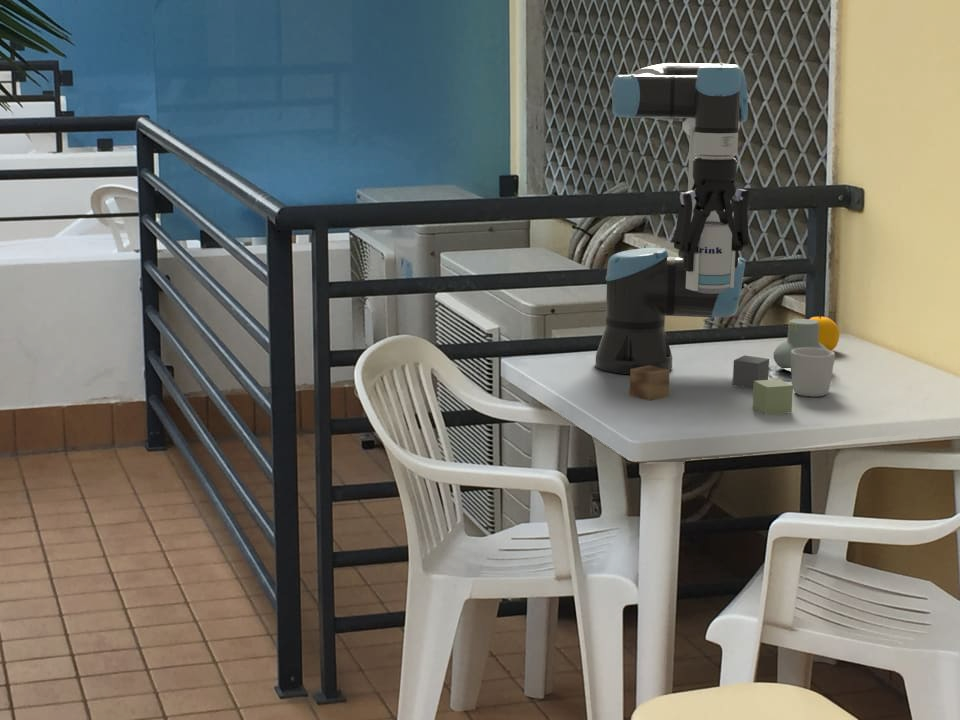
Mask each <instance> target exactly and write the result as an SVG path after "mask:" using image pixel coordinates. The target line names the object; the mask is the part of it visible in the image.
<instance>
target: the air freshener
mask: <svg viewBox="0 0 960 720" xmlns="http://www.w3.org/2000/svg"><path fill="white" fill-rule="evenodd" d="M787 325H788V326H787V329H788V330H787V340H786V341H784V342H781V343H780V344H779V345H778V346H776V348H775V349H774V351H773V354H772V355H773V361H774V362H775V364H777V366H778V367H779V368H780V369H782V368H791V350H793V349H796V348H804V347H812V348H822V349H827V348H826V347H825V346H824V345H822V344H820V343H819V342H818V337H819V323H818V322H817V321H815V320H810V318H809V319H808V318H794V319H793V318H792V319H790V320H789V321H788V324H787ZM827 350H828V349H827Z"/></svg>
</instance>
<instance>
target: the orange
mask: <svg viewBox="0 0 960 720" xmlns="http://www.w3.org/2000/svg"><path fill="white" fill-rule="evenodd" d="M809 319H810V320H815V321H817V322H818V323H819V337H818V342H819V343H820V344H822V345H824V346H825V347H826V348H827V349H828V350H831V351H833V350H834V349H835V348H836V347H837V346H838V343H839V339H840V330H839V327H838V325H837V323H835V322H834V321H833V320H832V319H831V318H829V317H826V316H820V315H819V316H812V317H810V318H809Z"/></svg>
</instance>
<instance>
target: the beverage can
mask: <svg viewBox="0 0 960 720" xmlns="http://www.w3.org/2000/svg"><path fill="white" fill-rule="evenodd" d="M728 225H729V224H728V223H727V224H724V223H722V222H716V221H706V222H705V225H704V228H703V231H702V233H701V237H700V240H699V243H698V246H697V249H696V251H695V253H698V254H700V255H699V279H698V291H697V292H700V293H709V294H715V293H722V292H724V290H726V289H727V288H728V287H730V271H731V249H732V232H731V230H730V228H729V226H728Z"/></svg>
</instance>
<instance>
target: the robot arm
mask: <svg viewBox="0 0 960 720" xmlns="http://www.w3.org/2000/svg"><path fill="white" fill-rule="evenodd" d="M747 89H748V86H747V81H746V76H745V72H744V70H743V68H742V67H741V66H740V65H738V64H735V63H734V64H730V63H724V62H718V63H684V62H683V63H681V62H679V63H675V62H667V63H659V64H653V65H650V66H645V67H642V68H640V69H637V70H635V71H633V72H632V73H630V74H619V75H616V76H615V77H614V79H613V81H612V97H611V99H612V104H611V109H612V114H613V115H614V116H615V117H617V118H627V119H634V118H636V119H637V118H640V119H644V118H645V119H647V118H649V119H655V120H657V121H658V120H659V121H660V120H661V121H668V122H669V121H672V122H682V124H681V127H682V130H683V132H684V133H685V134H687V135H688V136H689V145H688V148H689V150H688V177H687V178H688V180H687V181H688V183H687V184H688V185H687V191H685V192H682V191H679V192H678V193H677V196H676V197H677V203H678V211H677V217H676V218H677V219H676V226H675V233H674V242H673V248H674V249H675V250H678V254H677V255H678V256H671V255H670V256H669V253H668V250H667V248H663V247H642V248H636V249H635V248H634V249H629V250H622V251H619V252H617V253H615V254H612V255H611V256H610V257H609V258H608V261H607V269H606V276H605V281H606V296H605V303H606V304H605V325H604V326H605V327H604V330H603V333H602V337H601V339H600V341H599V344H598V347H597V351H596V353H595V367H596V368H597V369H600V370H602V371H605V372H608V373H613V374H614V373H615V374H621V375H622V374H623V375H630V370H631V369H633V368H638V367H643V366H648V365H650V366H655V367H659V368H663V369H667V370H670V371H671V370H672V369H673V354H672V351H671V347H670V343H669V340H668V337H667V334H666V333H667V332H666V329H665V326H666V325H665V323H666V322H665V321H666V318H665V317H666V316H667V317H672V316H673V317H689V318H691V317H693V318H695V317H696V318H711V319H716V318H730V317H733V316H734V315H736V313H737V312H738V309H739V305H740V298H741V293H742V287H743V281H744V280H743V279H744V274H745V267H746V259H745V258H742V257H741V256H739V252H740V251H743V249H744V247H748V245H749V244H750V243H749V242H750V241H749V240H750V239H749V238H750V237H749V217H748V203H749V202H748V201H749V197H750V191H749V190H747V189H741V188H737V187H736V184H735V180H736V179H737V175H738V174H737V171H738V160H737V159H736V158H735V157H734V156H737V155H738V150H739V149H738V148H739V147H738V145H739V131H740V129H741V124H742V123H743V122H746V121H747V120H748V116H749V105H748V90H747ZM732 200H733V206H732ZM706 221H716V222H722V223H724V224H727V223H728V224H729V225H728V226H729V228H730V230H731V232H732V249H731V271H730V287H728V288H727V289H726V290H724V292H722V293H715V294H709V293H700V292H697V291H698V279H699V255H700V254H698V253H695V251H696V249H697V246H698V243H699V240H700V237H701V233H702V231H703V228H704V225H705V222H706Z"/></svg>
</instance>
